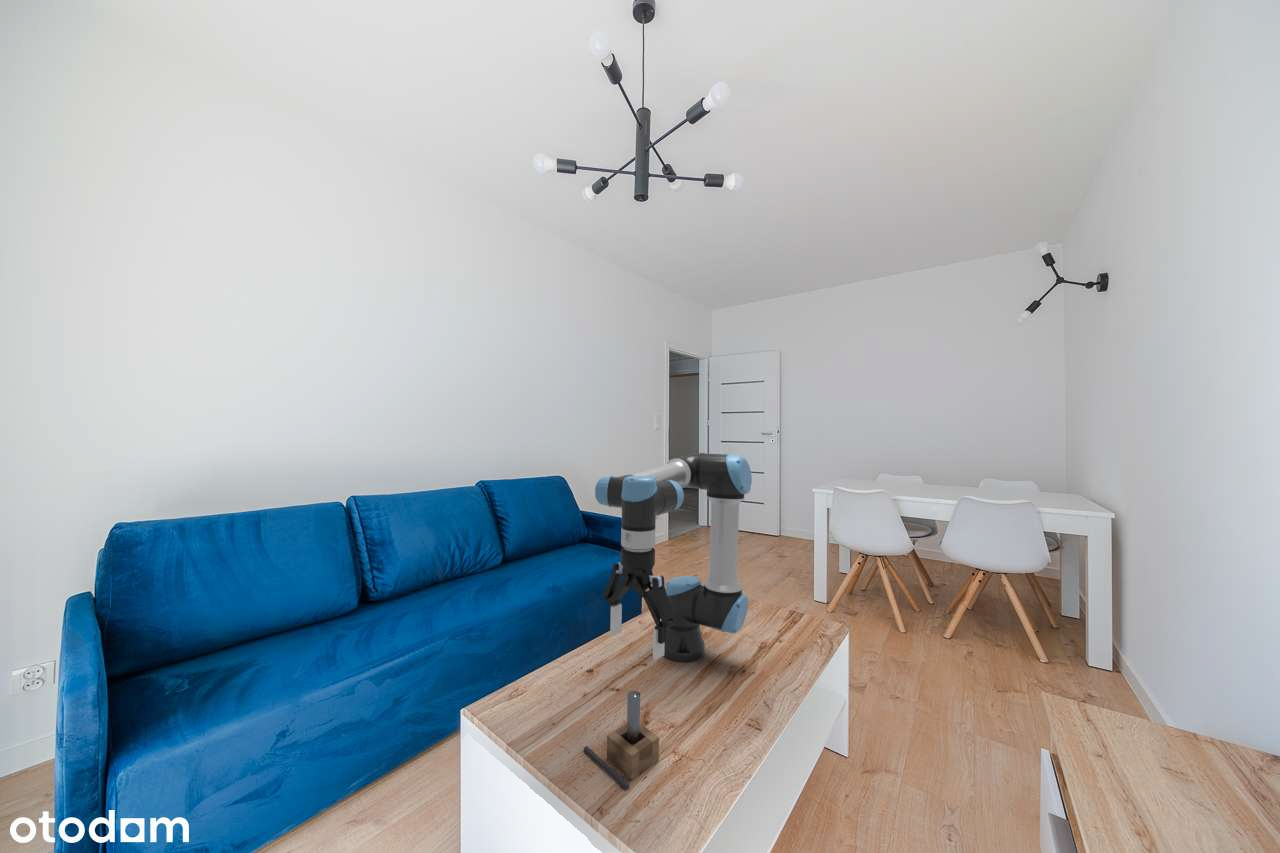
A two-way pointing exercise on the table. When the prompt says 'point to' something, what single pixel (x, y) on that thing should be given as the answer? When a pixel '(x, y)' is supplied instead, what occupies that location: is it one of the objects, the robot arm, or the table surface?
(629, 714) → the dark grey peg
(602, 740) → the table surface
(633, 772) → the bead block
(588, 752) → the dark grey rod
